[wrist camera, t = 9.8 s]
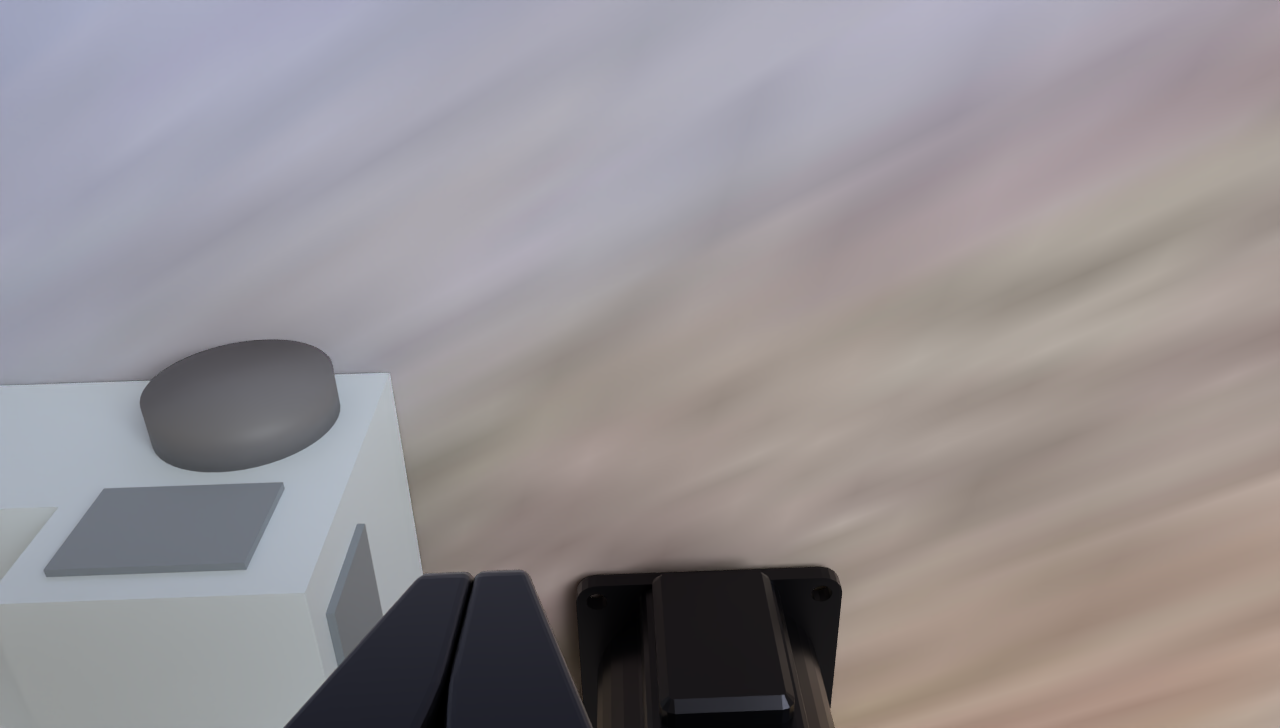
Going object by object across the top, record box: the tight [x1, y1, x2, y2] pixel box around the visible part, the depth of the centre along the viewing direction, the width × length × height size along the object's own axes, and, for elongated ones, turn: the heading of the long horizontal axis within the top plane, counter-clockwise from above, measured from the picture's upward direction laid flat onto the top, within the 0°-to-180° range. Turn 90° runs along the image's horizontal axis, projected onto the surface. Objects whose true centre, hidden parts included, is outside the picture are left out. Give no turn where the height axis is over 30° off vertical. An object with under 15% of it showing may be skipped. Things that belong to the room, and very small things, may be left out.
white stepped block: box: [0, 340, 423, 728], centre depth 21 cm, size 15×11×7 cm
